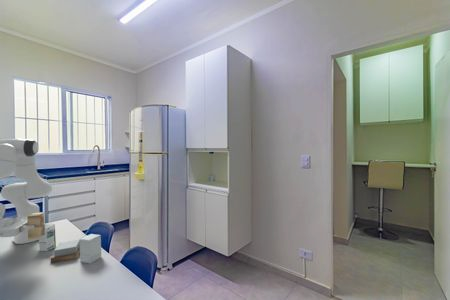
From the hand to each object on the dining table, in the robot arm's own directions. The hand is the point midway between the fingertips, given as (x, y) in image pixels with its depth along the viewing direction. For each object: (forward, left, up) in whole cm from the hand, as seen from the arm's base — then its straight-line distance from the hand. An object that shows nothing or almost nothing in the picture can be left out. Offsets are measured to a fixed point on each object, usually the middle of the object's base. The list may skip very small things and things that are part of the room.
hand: (38, 224), depth 112 cm
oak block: (0, -1, -6) cm, 7 cm away
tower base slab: (-7, +11, -22) cm, 26 cm away
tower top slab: (-7, +10, -19) cm, 23 cm away
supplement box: (+2, +25, -22) cm, 33 cm away
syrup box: (-21, -5, -22) cm, 31 cm away
